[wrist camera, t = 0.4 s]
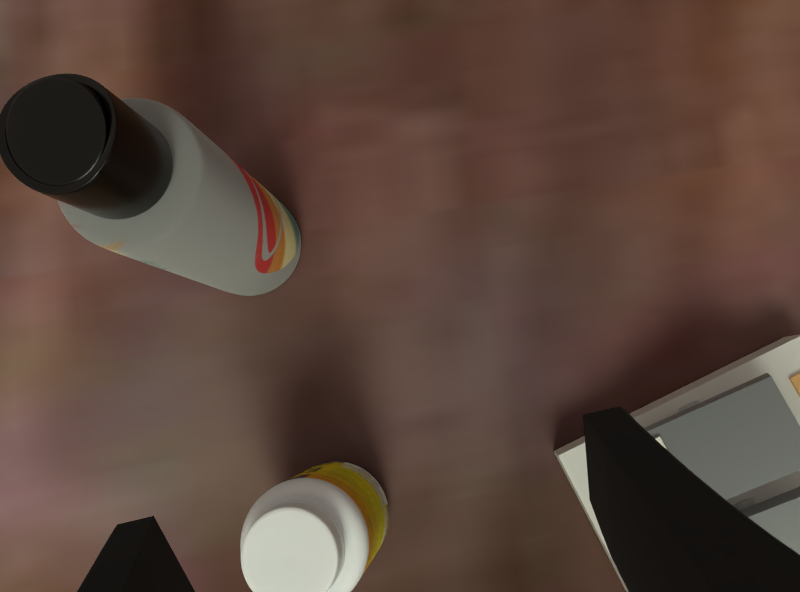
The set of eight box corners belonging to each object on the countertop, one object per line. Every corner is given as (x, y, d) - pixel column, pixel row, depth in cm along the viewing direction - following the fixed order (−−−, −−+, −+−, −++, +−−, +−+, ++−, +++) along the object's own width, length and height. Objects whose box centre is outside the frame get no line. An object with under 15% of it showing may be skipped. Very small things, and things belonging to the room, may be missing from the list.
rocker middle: (876, 562, 32) (886, 575, 31) (718, 618, 35) (721, 633, 33) (826, 476, 33) (834, 484, 32) (675, 536, 35) (675, 547, 34)
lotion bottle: (308, 199, 42) (153, 37, 22) (297, 301, 41) (128, 227, 22) (210, 193, 43) (-26, 29, 23) (197, 293, 42) (-55, 214, 22)
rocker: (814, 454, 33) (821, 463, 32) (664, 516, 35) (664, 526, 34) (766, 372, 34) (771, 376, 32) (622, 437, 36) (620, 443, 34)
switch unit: (947, 617, 36) (996, 642, 33) (700, 734, 37) (722, 770, 33) (784, 336, 38) (814, 332, 35) (553, 451, 39) (559, 457, 36)
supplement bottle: (338, 437, 40) (289, 455, 30) (412, 514, 40) (388, 558, 29) (265, 513, 40) (192, 556, 30) (338, 591, 39) (288, 663, 29)
